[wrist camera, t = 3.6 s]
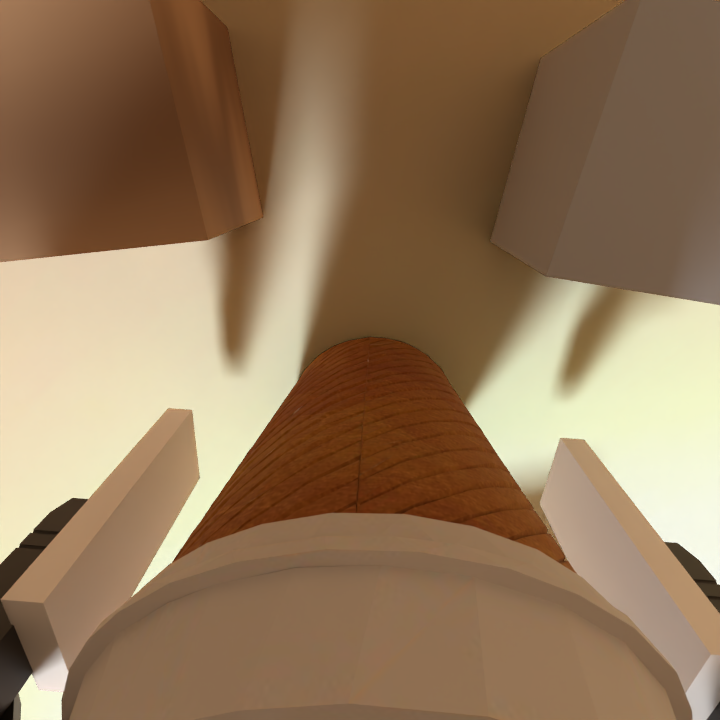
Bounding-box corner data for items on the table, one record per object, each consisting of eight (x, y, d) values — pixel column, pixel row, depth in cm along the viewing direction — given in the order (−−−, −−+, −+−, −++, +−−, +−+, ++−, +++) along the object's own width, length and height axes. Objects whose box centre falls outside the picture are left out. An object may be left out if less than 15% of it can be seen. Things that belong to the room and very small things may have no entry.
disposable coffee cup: (431, 242, 14) (653, 523, 3) (532, 453, 17) (817, 966, 6) (202, 366, 16) (-185, 801, 5) (330, 533, 19) (271, 1016, 8)
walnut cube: (58, 52, 12) (-136, -21, 7) (228, 28, 12) (133, -65, 7) (117, 233, 14) (-7, 262, 9) (263, 216, 14) (208, 240, 9)
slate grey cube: (539, 58, 12) (644, -13, 7) (712, 90, 12) (922, 40, 7) (489, 241, 14) (545, 276, 9) (636, 265, 14) (764, 312, 9)
